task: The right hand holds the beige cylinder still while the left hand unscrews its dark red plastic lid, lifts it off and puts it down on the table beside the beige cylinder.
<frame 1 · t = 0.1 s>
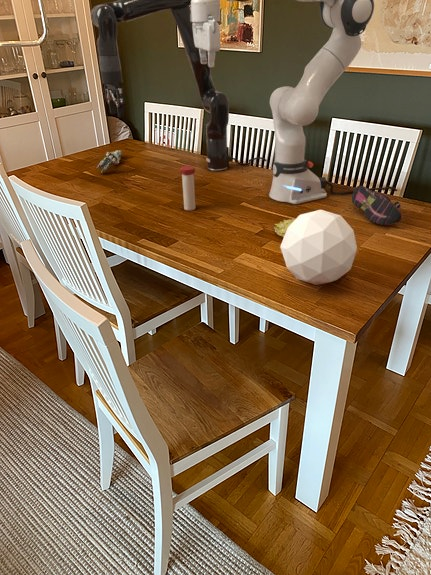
left hand: (117, 115, 171), 29 cm above the table, tool pointing down, fingers open, 8 cm apart
right hand: (207, 65, 143), 48 cm above the table, tool pointing down, fingers open, 8 cm apart
figurine: (111, 165, 215), on the table
athletic shoe: (378, 216, 156), on the table
sphere: (314, 278, 122), on the table
lid: (187, 168, 159), point 15 cm above the table, screwed on, not yet turned
beige cylinder: (189, 208, 167), on the table
decorative object: (301, 233, 146), on the table
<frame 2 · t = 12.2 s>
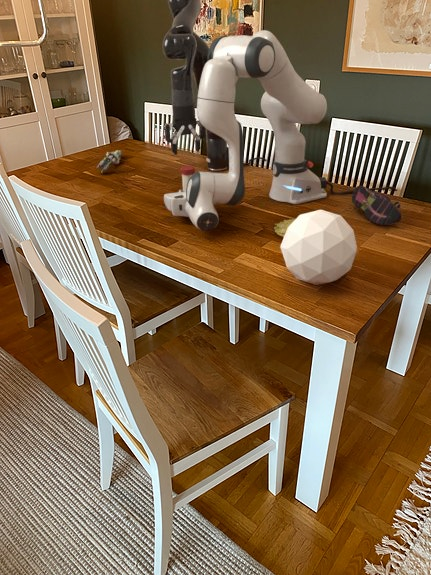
left hand: (186, 152, 155), 21 cm above the table, tool pointing down, fingers open, 7 cm apart
right hand: (188, 190, 164), 7 cm above the table, tool horizontal, fingers closed on beige cylinder, 4 cm apart
beige cylinder: (189, 208, 167), on the table, touching right hand
everything else where it was.
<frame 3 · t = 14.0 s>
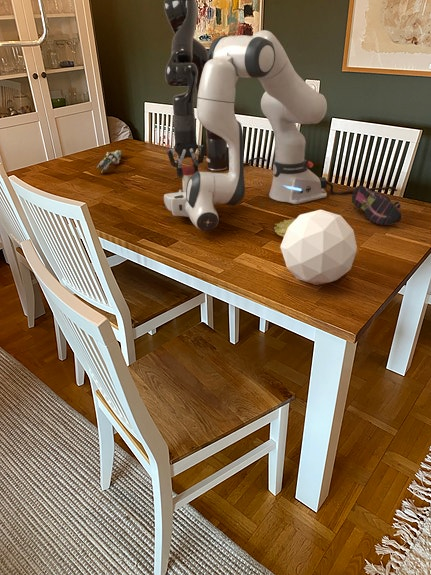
left hand: (187, 176, 160), 12 cm above the table, tool pointing down, fingers closed on lid, 5 cm apart
right hand: (188, 190, 164), 7 cm above the table, tool horizontal, fingers closed on beige cylinder, 4 cm apart
lid: (187, 168, 159), point 15 cm above the table, screwed on, not yet turned, touching left hand
beige cylinder: (189, 208, 167), on the table, touching right hand
everything else where it was.
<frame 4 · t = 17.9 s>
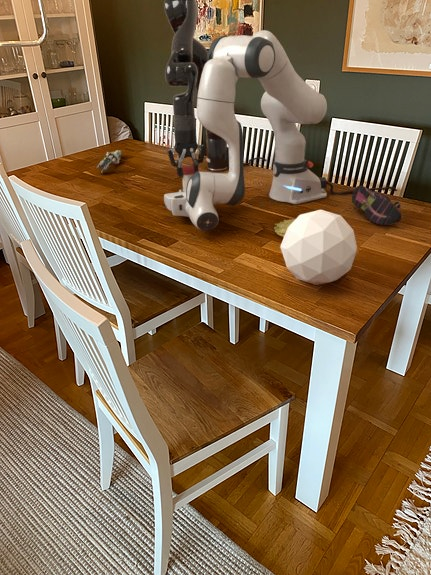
left hand: (188, 175, 160), 12 cm above the table, tool pointing down, fingers closed on lid, 5 cm apart
right hand: (188, 190, 164), 7 cm above the table, tool horizontal, fingers closed on beige cylinder, 4 cm apart
lid: (187, 168, 159), point 15 cm above the table, turned 90° so far, risen 0.1 cm, still on its thread, touching left hand
beige cylinder: (190, 208, 167), on the table, touching right hand
everything else where it was.
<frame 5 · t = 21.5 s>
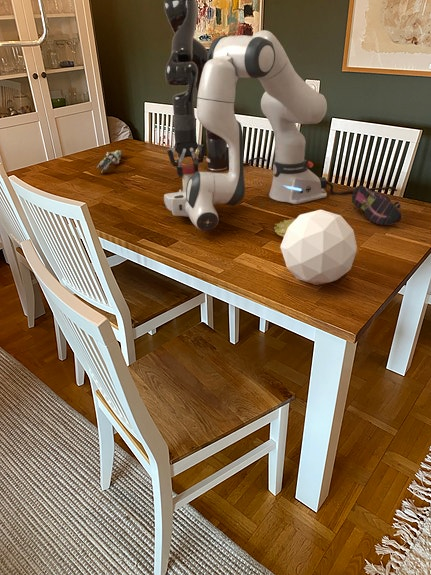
left hand: (187, 175, 160), 13 cm above the table, tool pointing down, fingers closed on lid, 5 cm apart
right hand: (188, 190, 164), 7 cm above the table, tool horizontal, fingers closed on beige cylinder, 4 cm apart
lid: (187, 168, 158), point 15 cm above the table, turned 180° so far, risen 0.3 cm, still on its thread, touching left hand
beige cylinder: (190, 208, 167), on the table, touching right hand
everything else where it was.
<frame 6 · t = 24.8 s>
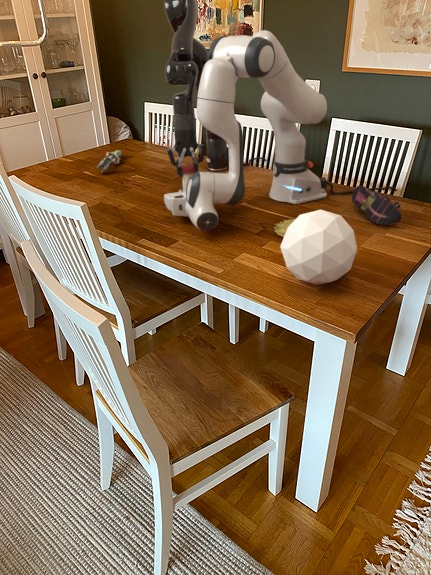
left hand: (187, 175, 160), 13 cm above the table, tool pointing down, fingers closed on lid, 5 cm apart
right hand: (188, 190, 164), 7 cm above the table, tool horizontal, fingers closed on beige cylinder, 4 cm apart
lid: (187, 167, 158), point 15 cm above the table, turned 269° so far, risen 0.4 cm, still on its thread, touching left hand
beige cylinder: (190, 208, 167), on the table, touching right hand
everything else where it was.
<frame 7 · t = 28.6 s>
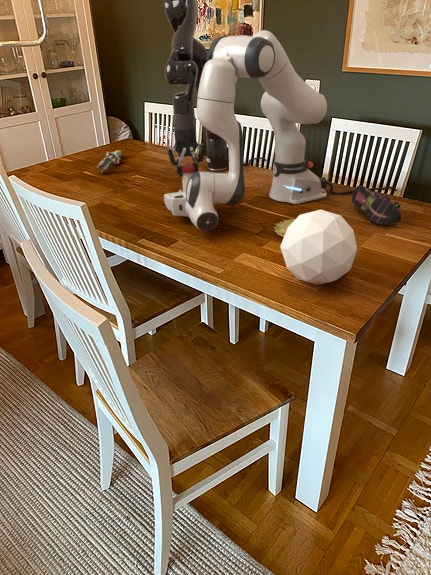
left hand: (187, 174, 160), 13 cm above the table, tool pointing down, fingers closed on lid, 5 cm apart
right hand: (188, 190, 164), 7 cm above the table, tool horizontal, fingers closed on beige cylinder, 4 cm apart
lid: (187, 167, 158), point 16 cm above the table, turned 359° so far, risen 0.5 cm, still on its thread, touching left hand
beige cylinder: (190, 208, 167), on the table, touching right hand
everything else where it was.
when the left hand's fingers open (0 cm above the table, at t = 38.2 s): lid drops 2 cm, point 1 cm above the table.
when the right hand's fingers open (7 cm above the table, at t = 39.2 s): beige cylinder stays where it is, on the table.
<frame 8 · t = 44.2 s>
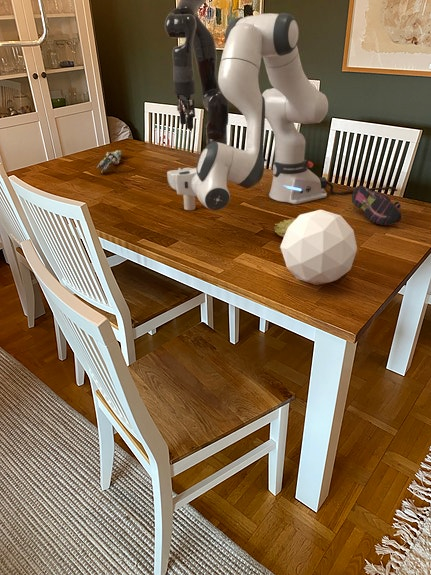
left hand: (186, 126, 167), 26 cm above the table, tool pointing down, fingers open, 8 cm apart
right hand: (194, 168, 147), 19 cm above the table, tool horizontal, fingers open, 8 cm apart
lid: (190, 189, 180), point 1 cm above the table, off its thread
beige cylinder: (189, 208, 167), on the table
everything else where it was.
at the end: lid came off its thread; lid point 1.4 cm above the table; the left hand is holding nothing; the right hand is holding nothing; beige cylinder tilted 0°; beige cylinder moved 0.1 cm from its start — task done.
